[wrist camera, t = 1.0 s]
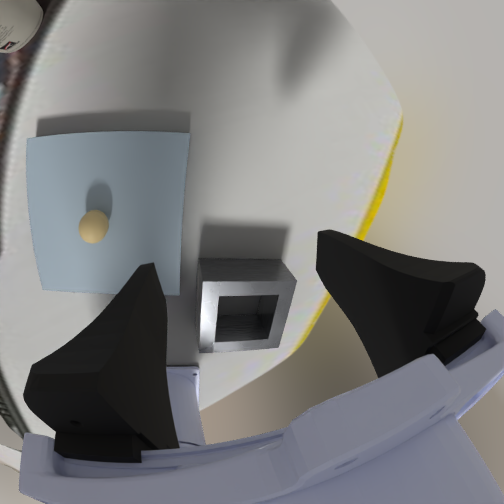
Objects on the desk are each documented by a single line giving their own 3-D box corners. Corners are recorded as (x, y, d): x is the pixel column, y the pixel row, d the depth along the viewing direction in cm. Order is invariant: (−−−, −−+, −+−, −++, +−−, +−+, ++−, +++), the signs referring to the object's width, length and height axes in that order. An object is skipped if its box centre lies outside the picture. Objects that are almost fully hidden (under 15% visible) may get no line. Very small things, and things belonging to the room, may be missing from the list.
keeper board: (179, 285, 22) (181, 315, 18) (48, 280, 18) (32, 307, 15) (189, 133, 17) (192, 134, 14) (36, 136, 13) (8, 141, 10)
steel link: (266, 323, 26) (278, 347, 23) (195, 326, 24) (199, 353, 21) (281, 259, 23) (296, 280, 20) (198, 258, 21) (203, 281, 18)
